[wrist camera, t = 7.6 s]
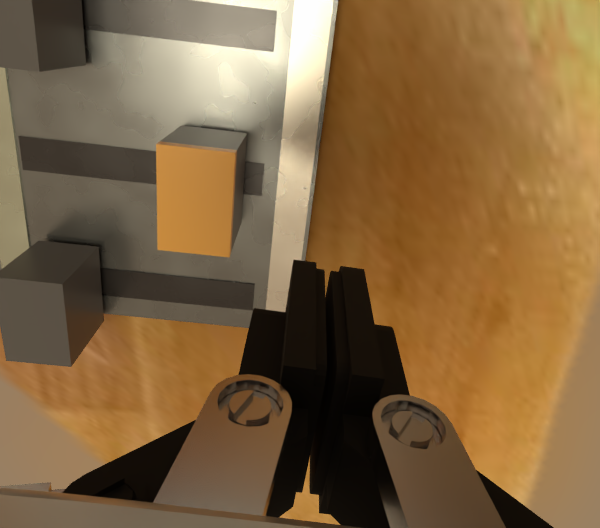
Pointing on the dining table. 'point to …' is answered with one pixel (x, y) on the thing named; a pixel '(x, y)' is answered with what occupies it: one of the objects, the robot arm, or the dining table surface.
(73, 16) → the breaker
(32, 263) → the block
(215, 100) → the panel
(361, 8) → the dining table surface
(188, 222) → the block
